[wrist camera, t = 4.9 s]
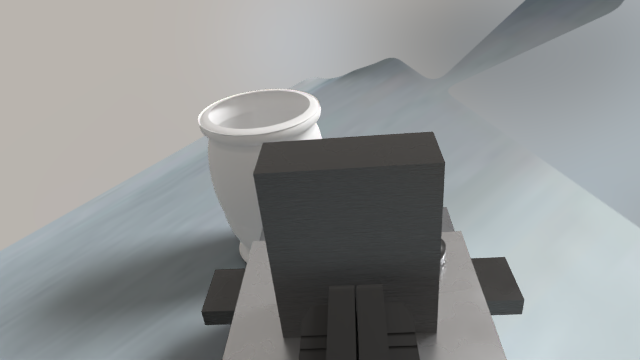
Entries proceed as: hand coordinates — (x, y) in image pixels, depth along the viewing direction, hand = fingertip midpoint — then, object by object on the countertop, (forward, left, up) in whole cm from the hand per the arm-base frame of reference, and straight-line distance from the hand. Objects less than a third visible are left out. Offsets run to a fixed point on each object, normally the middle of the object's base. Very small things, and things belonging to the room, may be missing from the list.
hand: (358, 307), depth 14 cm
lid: (+1, +9, -11) cm, 14 cm away
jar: (-3, +30, -20) cm, 36 cm away
